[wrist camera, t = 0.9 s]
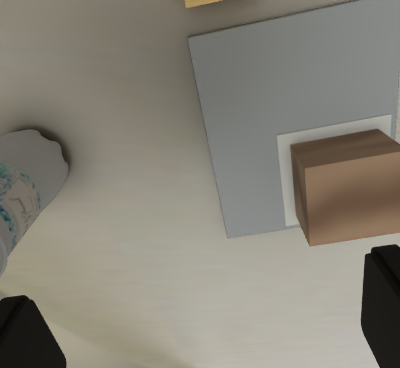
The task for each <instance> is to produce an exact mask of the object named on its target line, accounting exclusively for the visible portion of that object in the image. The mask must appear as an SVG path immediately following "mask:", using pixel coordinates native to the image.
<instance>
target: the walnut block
mask: <svg viewBox="0 0 400 368" xmlns="http://www.w3.org/2000/svg"><path fill="white" fill-rule="evenodd" d="M290 152H291V163H292V175H293V187H294V199H295V210H296V217H297V219H298V221H299V223H300V226H301V228H302V230H303V232H304V235H305V237H306V239H307V241H308V244H309V246H316V245H323V244H329V243H336V242H342V241H348V240H355V239H361V238H368V237H374V236H380V235H387V234H393V233H399V232H400V144H399V143H397V142H396V141H394V140H393V139H392V138H390V137H389V136H388V135H386V134H385V133H383V132H382V131H381V130H379V129H373V130H368V131H362V132H357V133H351V134H346V135H340V136H335V137H329V138H324V139H319V140H313V141H308V142H302V143H297V144H291V145H290Z"/></svg>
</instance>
